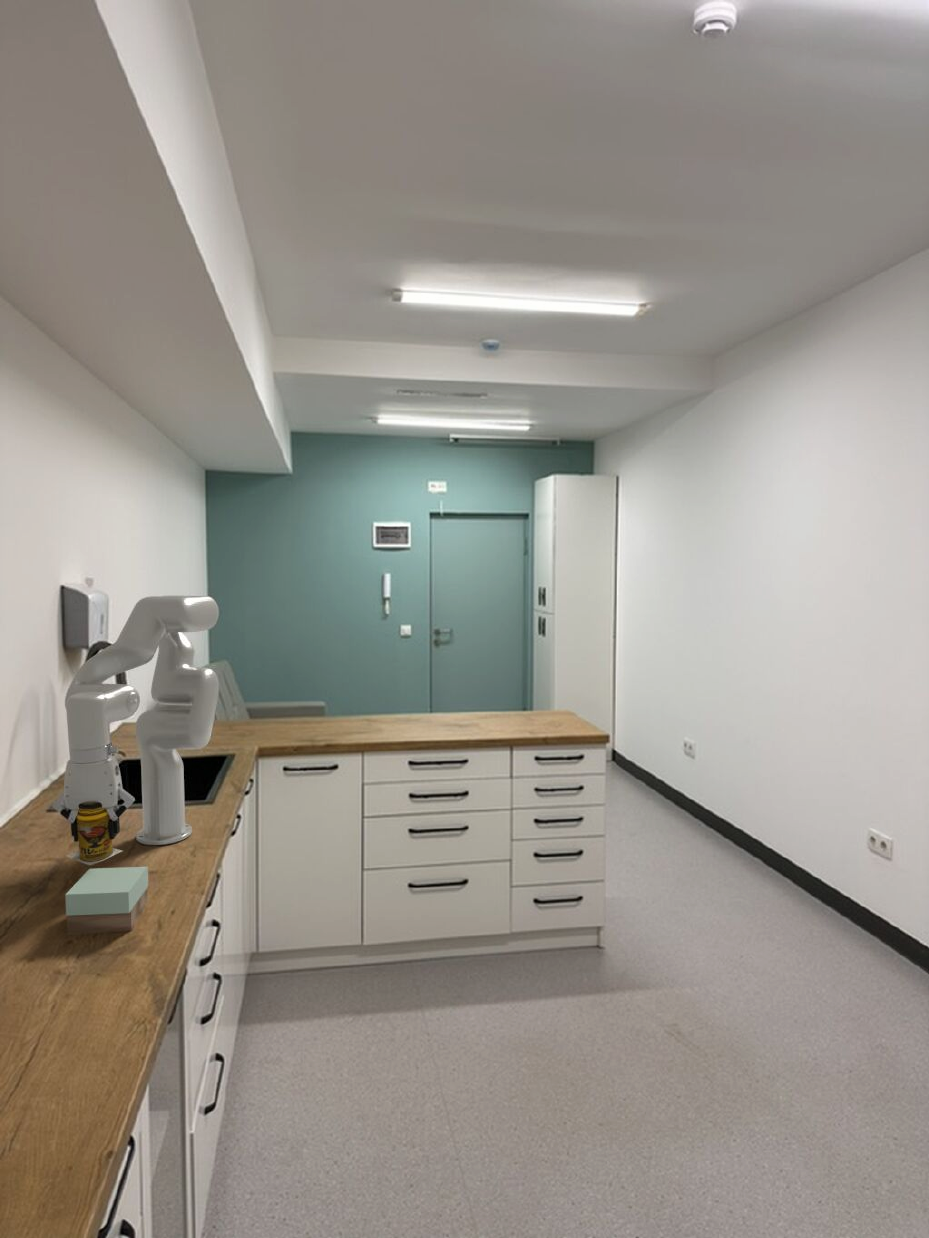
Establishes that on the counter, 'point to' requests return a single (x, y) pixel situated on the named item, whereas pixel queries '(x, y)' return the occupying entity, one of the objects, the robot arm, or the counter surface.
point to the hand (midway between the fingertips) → (96, 837)
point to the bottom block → (106, 920)
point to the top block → (107, 891)
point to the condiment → (93, 835)
